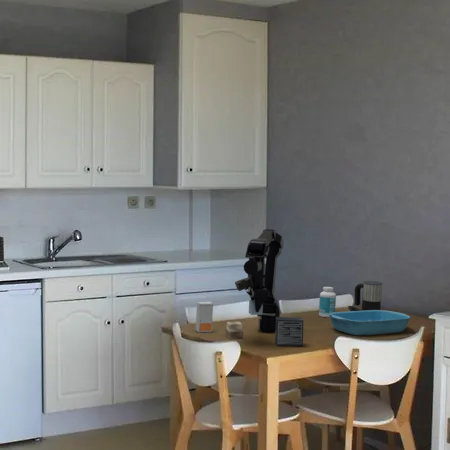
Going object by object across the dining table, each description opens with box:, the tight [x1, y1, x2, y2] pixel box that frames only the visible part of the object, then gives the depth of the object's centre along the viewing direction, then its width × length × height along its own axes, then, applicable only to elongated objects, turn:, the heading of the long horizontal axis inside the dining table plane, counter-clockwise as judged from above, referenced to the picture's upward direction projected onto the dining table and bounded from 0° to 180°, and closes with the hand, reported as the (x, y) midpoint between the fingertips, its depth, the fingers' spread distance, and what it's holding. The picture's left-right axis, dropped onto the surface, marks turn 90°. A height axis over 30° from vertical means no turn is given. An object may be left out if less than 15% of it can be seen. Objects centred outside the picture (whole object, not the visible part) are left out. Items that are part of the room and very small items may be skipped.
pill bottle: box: [318, 286, 337, 319], centre depth 409 cm, size 8×7×14 cm
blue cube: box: [248, 299, 263, 316], centre depth 351 cm, size 4×4×5 cm
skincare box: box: [195, 301, 214, 333], centre depth 367 cm, size 6×4×12 cm
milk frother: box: [347, 280, 384, 311], centre depth 420 cm, size 14×16×15 cm
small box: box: [274, 316, 305, 347], centre depth 347 cm, size 11×6×10 cm, turn 92°
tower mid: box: [226, 321, 243, 332], centre depth 357 cm, size 5×5×3 cm
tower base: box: [224, 329, 244, 340], centre depth 357 cm, size 6×6×3 cm
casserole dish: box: [330, 309, 411, 336], centre depth 381 cm, size 37×22×7 cm, turn 120°
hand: (255, 311), depth 351 cm, fingers closed on blue cube, 4 cm apart
